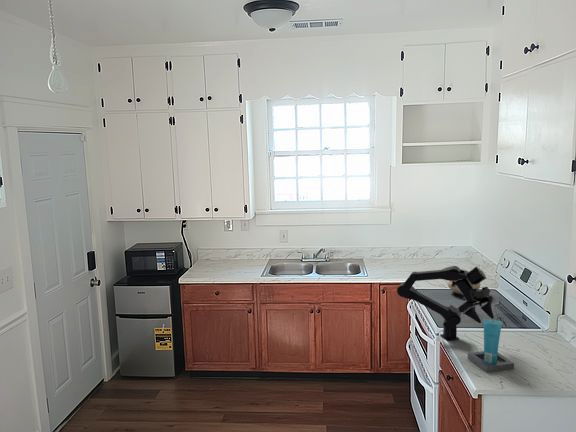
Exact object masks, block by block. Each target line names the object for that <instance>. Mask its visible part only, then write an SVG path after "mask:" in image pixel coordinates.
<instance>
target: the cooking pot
mask: <svg viewBox="0 0 576 432" xmlns="http://www.w3.org/2000/svg"><path fill="white" fill-rule="evenodd" d="M467 271H468V272H469V271H470V270H467ZM458 280H459V279H458ZM467 280H468V279H467ZM446 281H447V282H446V283H447V286H448V289H450V290H451V291H452V292H454V293H455V294H457V295H458V296H462V293H461V292H460V290H459V289H458V287H457V286H456V287H452V286H451V285H452V281H449V280H446ZM468 281H469V280H468ZM469 283H470V282H469ZM470 284H471V283H470ZM481 284H482V283H481V282H480V283H478V284H477V285H475V284H474V285H473V284H471V286H472V287H473V289H475V288H476V289H477V290H478V291H479V290H480V288H481Z"/></svg>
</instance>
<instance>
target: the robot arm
mask: <svg viewBox="0 0 576 432" xmlns="http://www.w3.org/2000/svg"><path fill="white" fill-rule="evenodd" d="M468 271H469V272H468ZM458 279H459V280H458ZM467 279H468V280H469V281H468V280H467ZM431 280H432V281H433V280H444V281H447V280H449V281H452V285H451V286H452V287H456V286H457V287H458V289H459V290H460V292H461V293H462V295H460V297H461V298H462V299H465V302H463V303H462V304H460V305H459V306H458V307H455V306H453V305H452V304H449V306H445V305H443V304H442V303H439V302H438V301H436V300H434V299H432V298H430V297H429V296H426V295H424V294H423V293H421V292H419V291H418V290H417V289H416V288H415V287H414V286H413V285H414V284H415V282H420V281H431ZM485 280H487V276H486V274H485V273H484V271H483V270H482V269H480V268H478V266H474V267H473V268H472V269H471V270H464V269H461V268H460V267H459V266H457V265H452V266H448V267H447V266H446V267H444V268H442V269H435V270H425V271H423V270H422V271H413V272H411V273H410V275H409V276H408V277H407V279H406V280H405V281H403V282H401V283H400V284H399V285H398V287H397V288H396V292H397V295H398V296H399V297H402V298H403V299H407V300H413V301H415V302H417V304H418V303H419V304H421V306H424V307H426V308H428V309H429V310H431V311H434V312H435V313H437V314H438V315H440V316H441V317H442V318H443V319H444V320H443V322H442V325H443V327H442V328H443V330H442V334H441V333H440V335H439V336H440V337H442V339H444V340H446V341H447V342H448V341H455V340H460V337H458V336H457V335H458V333H457V332H458V331H457V329H458V328H457V326H458V325H459V324H460V323H461V322H462V318H463V315H466V316H467V317H468V318H471V319H472V320H474V321H475V322H477V323H478V324H481V323H482V320H481V319H480V316H479V315H478V313H477V311H476V306H479V307H480V309H481V310H482V311H483V312H484V313H485V314H486V315H487V316H488V317H489V319H490V318H491V320H494V319H495V315H494V311H493V309H492V303H493V301H494V300H495V299H494V297H493V296H492V295H491V294H490V293H491V289H490V288H489V287H488V286H483V287H481V289H479V290H477V289H476V288H475V289H473V287H472V286H471V284H473V285H474V284H475V285H477V284H478V283H480V284H481V282H483V281H485ZM469 282H470V283H471V284H470V283H469Z"/></svg>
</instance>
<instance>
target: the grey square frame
mask: <svg viewBox="0 0 576 432" xmlns="http://www.w3.org/2000/svg"><path fill="white" fill-rule="evenodd" d="M467 359H468V360H469V361H470V362H471V363H472V364H474V365H475V364H476V365H475V366H477V367H478V368H480V369H481V370H482V371H483V370H484V372H485V373H486V372H487V373H493V372H501V371H507V370H508V371H509V370H514V369H515V362H513V361H512V360H510V359H509V358H507V357H505V356H504V355H503V354H502V353H500V352H498V354H497V363H492V364H487V363H486V362H484V350H482V351H474V352H468V353H467Z"/></svg>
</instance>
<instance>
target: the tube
mask: <svg viewBox="0 0 576 432" xmlns="http://www.w3.org/2000/svg"><path fill="white" fill-rule="evenodd" d="M482 322H483V349H484V350H483V351H484V359H483V361H484V362H486V363H487V364H492V363H498V361H497V354H498V353H499V345H500V336H501V330H502V327H503V321H502V320H496V319H495V320H494V319H490V318H489V319H487V318H483V319H482Z"/></svg>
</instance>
